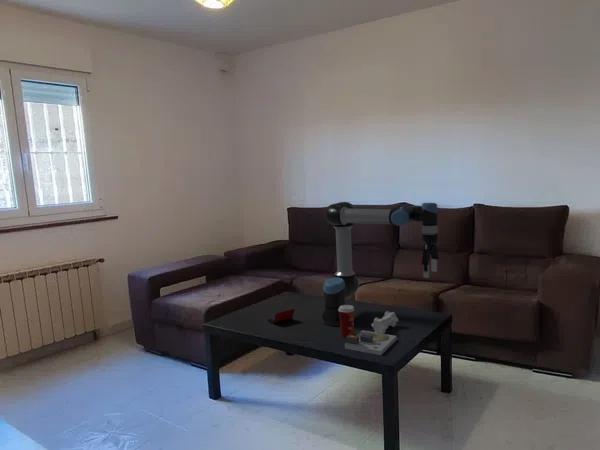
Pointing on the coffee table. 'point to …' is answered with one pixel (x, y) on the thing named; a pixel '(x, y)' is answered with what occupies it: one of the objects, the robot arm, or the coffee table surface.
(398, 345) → the coffee table surface
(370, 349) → the panel
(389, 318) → the bone shaped toy
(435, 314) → the coffee table surface
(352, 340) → the tagged breaker
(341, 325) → the coffee cup
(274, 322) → the handheld game console
